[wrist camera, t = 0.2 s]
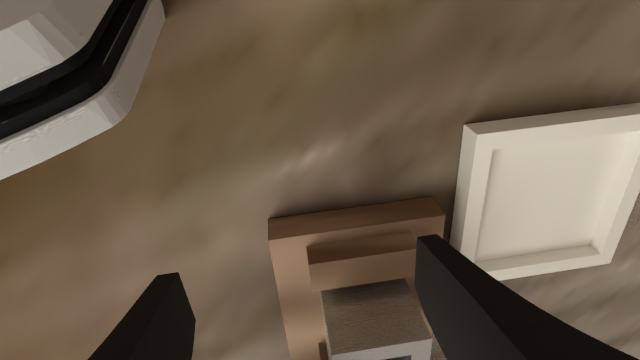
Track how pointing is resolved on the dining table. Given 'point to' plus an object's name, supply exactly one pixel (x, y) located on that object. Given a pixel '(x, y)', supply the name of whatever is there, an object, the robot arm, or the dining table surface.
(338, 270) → the vise block
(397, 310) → the sleeve
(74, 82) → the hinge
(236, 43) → the dining table surface
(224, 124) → the dining table surface
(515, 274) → the dish
